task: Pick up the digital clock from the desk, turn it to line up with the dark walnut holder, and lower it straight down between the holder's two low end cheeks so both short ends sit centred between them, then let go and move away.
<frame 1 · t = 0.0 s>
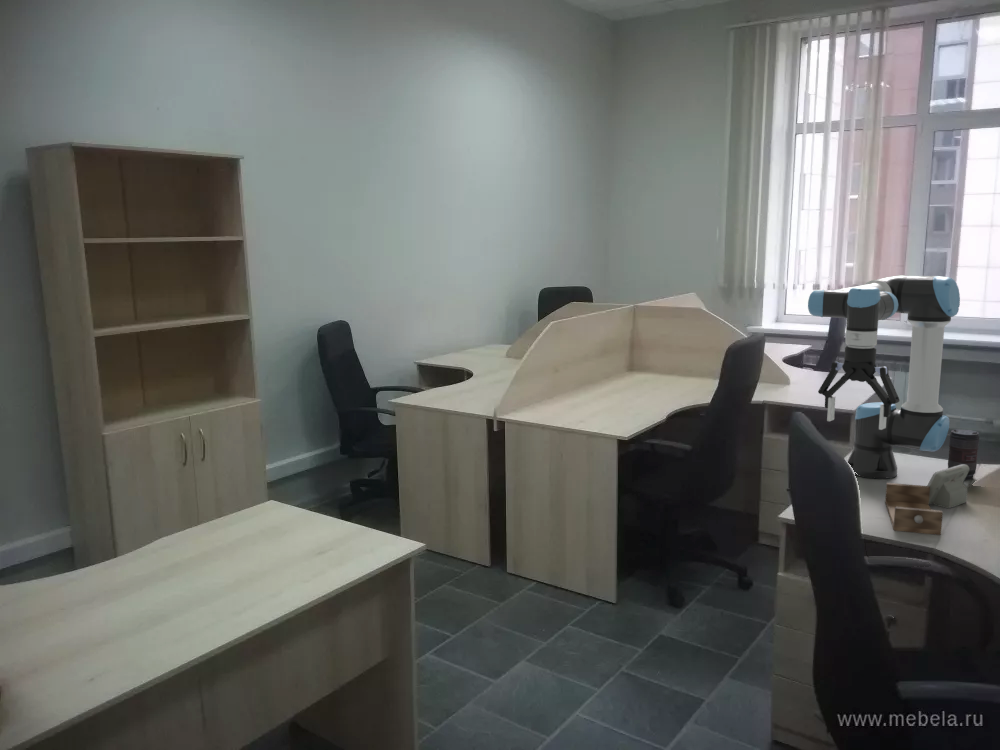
hand: (855, 424, 205), 28 cm above the table, tool pointing down, fingers open, 13 cm apart
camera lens: (960, 477, 246), on the table
walnut holder: (911, 518, 213), on the table
digital clock: (943, 502, 225), on the table
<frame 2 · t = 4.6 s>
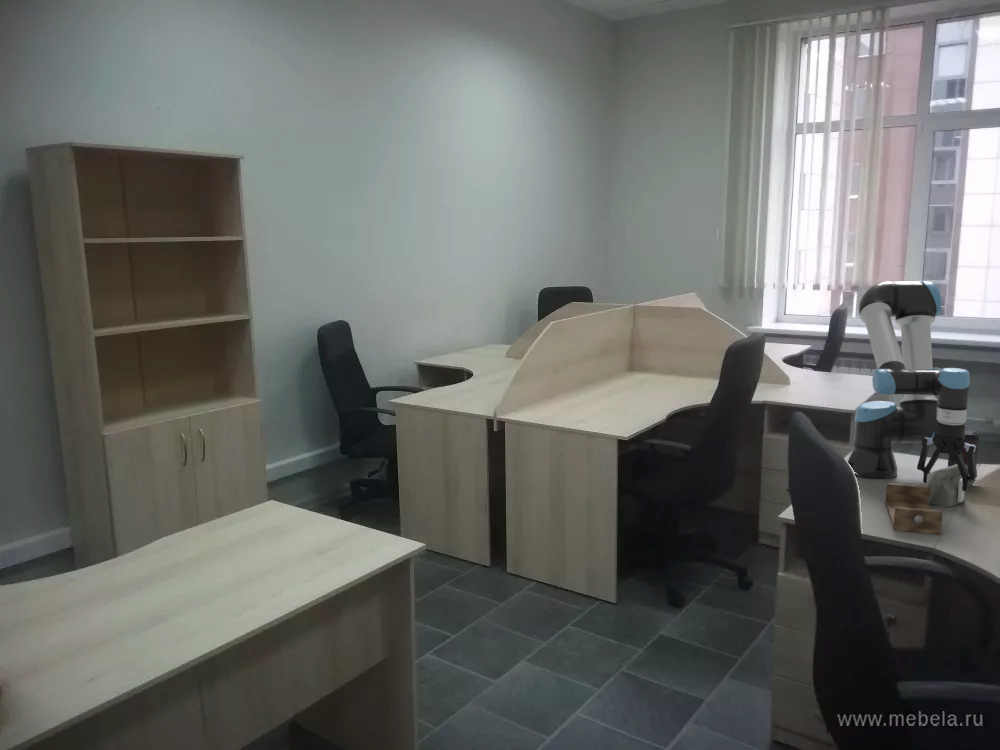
hand: (944, 497, 225), 1 cm above the table, tool pointing down, fingers closed on digital clock, 8 cm apart
digital clock: (941, 501, 226), on the table, touching gripper
everything else where it was.
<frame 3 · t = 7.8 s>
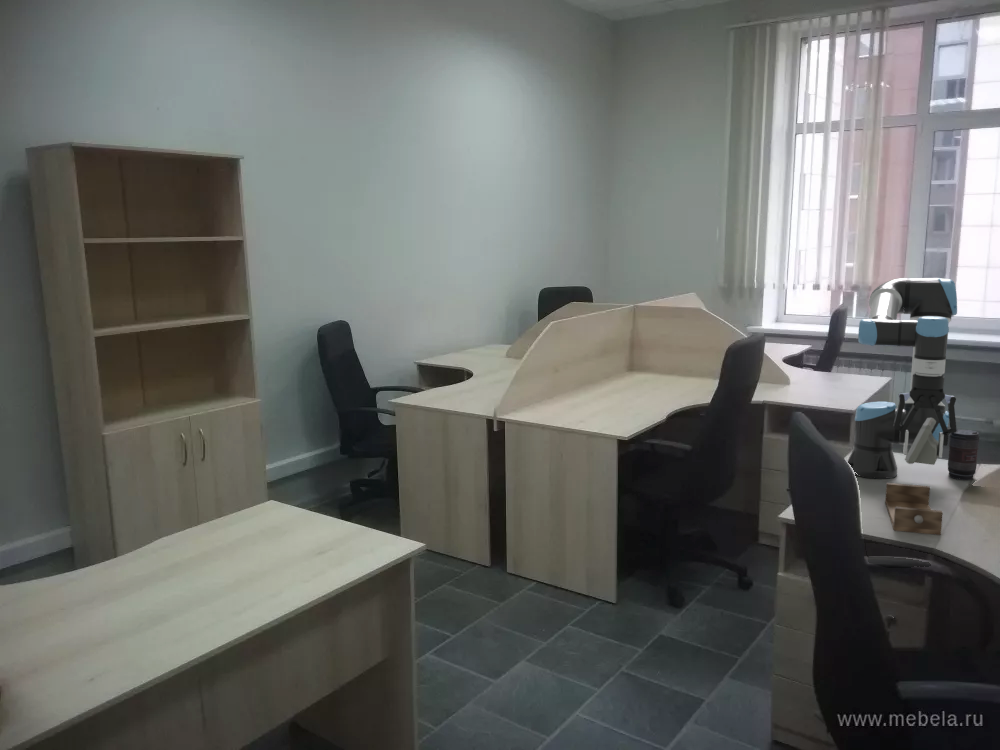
hand: (922, 455, 211), 18 cm above the table, tool pointing down, fingers closed on digital clock, 8 cm apart
digital clock: (919, 459, 212), point 16 cm above the table, touching gripper
everything else where it was.
when the fingers open (3 cm above the table, at t = 10.8 s): digital clock stays where it is, resting on walnut holder.
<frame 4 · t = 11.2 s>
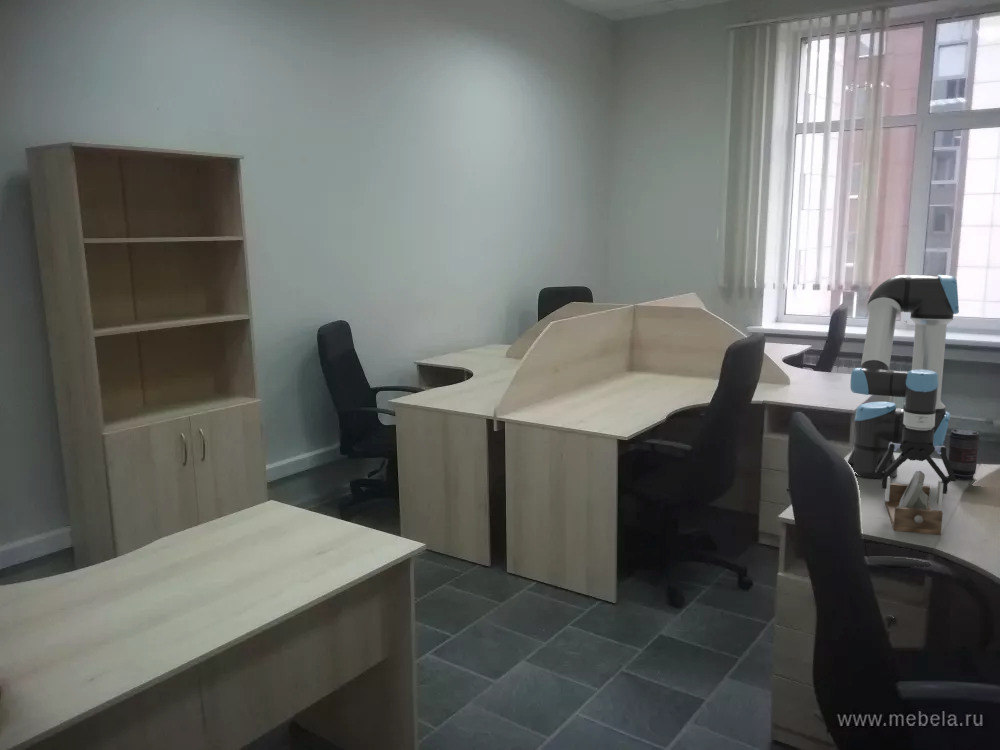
hand: (912, 502, 212), 5 cm above the table, tool pointing down, fingers open, 12 cm apart
digital clock: (909, 513, 213), point 1 cm above the table, touching walnut holder
everything else where it was.
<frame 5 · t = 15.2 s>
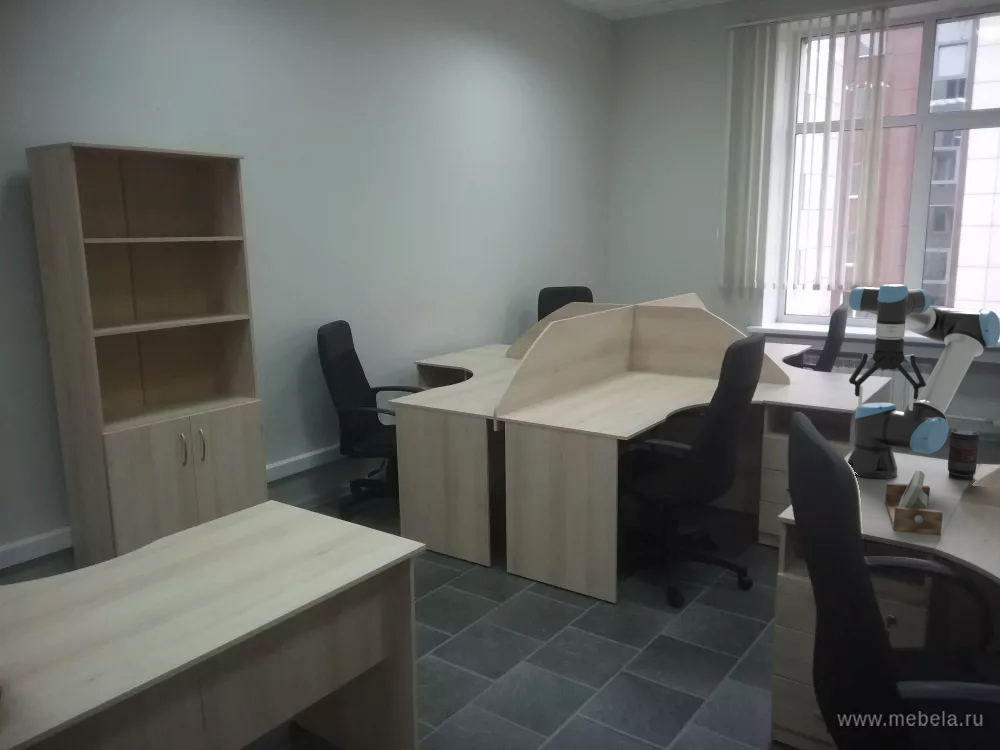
hand: (884, 408, 228), 27 cm above the table, tool pointing down, fingers open, 13 cm apart
nothing on the table moved.
at the end: digital clock 0.7 cm off-centre on the walnut holder, point 1.0 cm above the walnut holder's base; digital clock tilted 0°; the gripper is holding nothing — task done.
